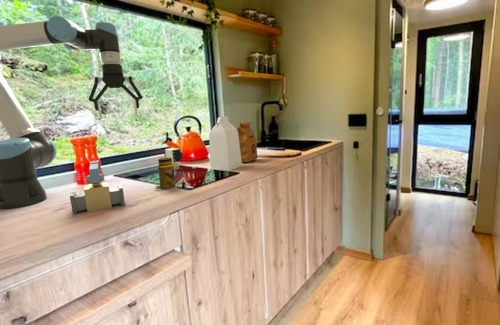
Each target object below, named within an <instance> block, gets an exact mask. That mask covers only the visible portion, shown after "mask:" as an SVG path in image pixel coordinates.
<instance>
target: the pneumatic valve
mask: <svg viewBox="0 0 500 325" xmlns="http://www.w3.org/2000/svg"><path fill="white" fill-rule="evenodd" d="M163 155H164V158H172V164H173V165H174V171H176V170H179V169H180V166H179V162H182V161H183V158H184V156H183V152H182V149H181V148H175V147H174V146H172V147H171V148H170V147H169V148H165V149H164V153H163Z"/></svg>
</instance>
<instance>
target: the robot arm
mask: <svg viewBox="0 0 500 325" xmlns="http://www.w3.org/2000/svg"><path fill="white" fill-rule="evenodd" d="M119 41H120V40H119V35H118V30H117V26H116V25H115V24H114V23H113V22H111V21H98V22H96V23H95V27H94V28H82V27H80V26H78V25H77V24H76V23H74V22H73V21H71V20H70V19H68V18H67V17H64V16H62V15H55V16H54V15H53V16H52V17H51V18H49V19H48V20H46V21H45V20H44V21H36V22H26V23H25V22H24V23H15V24H14V23H13V24H5V25H4V24H3V25H0V51H6V50H7V51H8V50H15V49H18V50H19V49H24V48H25V49H26V48H32V47H43V46H51V45H60V44H61V45H62V44H63V45H64V47H65V48H66V49H67V50H68V51H78V52H79V51H87V50H88V51H89V50H90V51H91V50H98V52H99V57H100V63H101V64H102V65H101V70H102V77H99V76H95V77H94V84H93V86H92V89H91V91H90V93H89V96H88V101H89V102H92V103H94V104H93V105H94V109H95V111H97V112H98V114H99V119H100V120H102V119H103V117H102V110H101V104H100V102H99V100H100V99H101V97H102V96H104V93H105V92H106V91H107V90H108V88H110V89H120V88H121V89H123V90H124V91H125V93H127V94H128V95H129V96H130V97H131V98H132V99H133V101H132V102H133V109H134V117H136V118H137V117H138V109H140V102H139V101H140V100H142V99H143V98H144V96H143V95H142V94H141V92H140V91H139V89H138V87H137V86H136V84H135V83H134V80H133V78H132V76H131V75H130V76H124V72H123V65H122V57H121V50H120V43H119ZM1 61H2V54H0V124H1V125H2V126H3V128H4V130H5V131H6V133H7V135H8V137H9V138H8V139H1V140H0V209H1V210H2V209H14V208H22V207H26V206H30V205H33V204H37V203H40V202H43V201H44V200H46V199H47V192H46V191H45V189H44V188H43V185H42V184H41V182H40V181H39V178H38V176H37V169H38V168H39V169H40V168H43V167H45V166H48V165H49V164H51V163H52V162H54V159H55V158H56V156H57V148H56V145H55V144H54V142H53V141H51V140H50V139H48V138H46V137H45V136H44V134H43V133H42V131H41V130H39V129H36V128H35V127H34V126H33V125H32V124H33V123H31V121H30V119H29V118H28V117H27V115H26V113H25V111H24V109H23V107H22V105H21V104H20V103H19V101H18V100H17V97H15V95H14V93H13V91H12V89H11V88H10V86H9V84H8V82H7V81H6V79H5V78H4V76H3V74H2V70H3V66H2V64H1ZM125 81H126V82H127V83H129V85H130V87H131V88H132V90H133V91H134V93H135V94H134V93H133V92H132V91H131V90H130V89H129V88H128V87H127V85H125V84H124V82H125ZM101 82H103V83H104V84H105V85H104V86H103V87H102V88H101V89H100V91H99V93H98V94H97V95H96V97H95V96H94V95H95V94H96V91H97V88H98V85H99V84H100V83H101ZM136 95H137V96H136ZM94 97H95V98H94Z"/></svg>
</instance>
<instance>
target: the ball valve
mask: <svg viewBox="0 0 500 325" xmlns="http://www.w3.org/2000/svg"><path fill="white" fill-rule="evenodd" d="M83 191H84V192H81V193H77V192H76V190H75V191H71V192H70V195H69V199H70V206H71V210H72V215H73V216H74V215H78V213H79V211H85V210H86V211H87V213H93V212H99V211H104V210H108V209H110V210H111V209H113V208H112V207H113V206H112V205H118V204H120V205H121V207H124V206H126V201H125V195H124V188H123V184H117V187H114V188H110V186H109V182H108V181H102V182H99V183H89V184H85V185H84V188H83Z"/></svg>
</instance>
